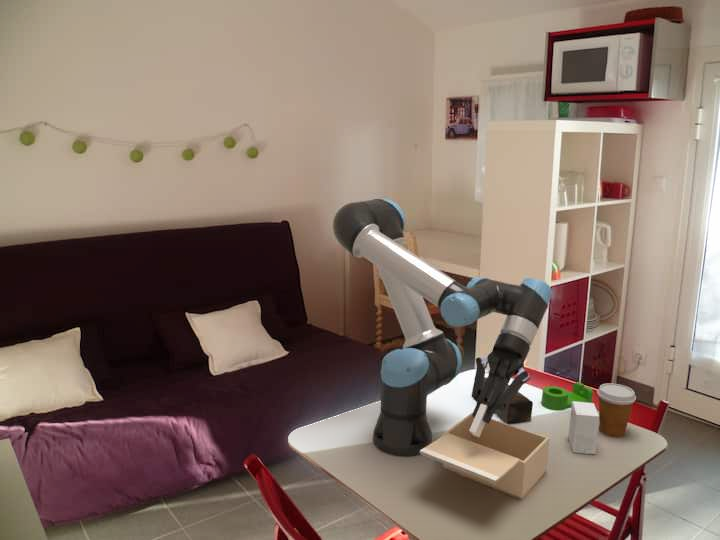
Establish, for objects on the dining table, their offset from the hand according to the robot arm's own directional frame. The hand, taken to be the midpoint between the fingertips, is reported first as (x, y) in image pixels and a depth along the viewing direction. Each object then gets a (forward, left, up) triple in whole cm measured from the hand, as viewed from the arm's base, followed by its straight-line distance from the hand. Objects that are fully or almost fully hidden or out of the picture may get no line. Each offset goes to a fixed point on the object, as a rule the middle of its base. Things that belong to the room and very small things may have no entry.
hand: (474, 433), depth 130 cm
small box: (+24, +31, -15) cm, 42 cm away
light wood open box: (+4, +12, -15) cm, 19 cm away
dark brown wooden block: (+2, +46, -15) cm, 48 cm away
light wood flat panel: (+1, +5, -6) cm, 8 cm away
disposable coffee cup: (+32, +42, -15) cm, 55 cm away
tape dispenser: (+20, +56, -15) cm, 61 cm away
